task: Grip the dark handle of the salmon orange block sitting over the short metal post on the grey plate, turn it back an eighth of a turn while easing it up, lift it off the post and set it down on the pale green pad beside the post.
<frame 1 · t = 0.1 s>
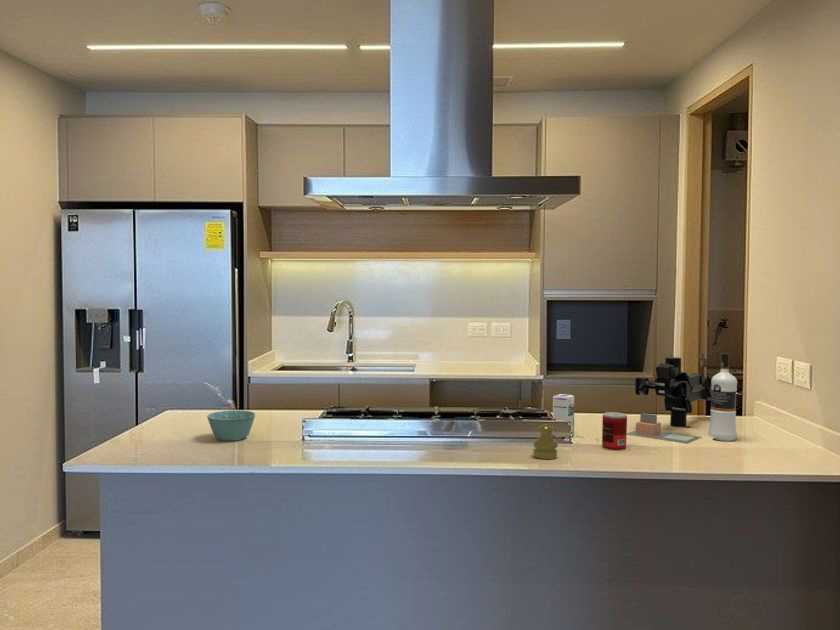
hand: (652, 390, 258), 17 cm above the worktop, tool horizontal, fingers open, 9 cm apart
vodka: (722, 439, 259), on the worktop
bowl: (231, 439, 249), on the worktop
salmon orange block: (648, 433, 262), point 1 cm above the worktop, touching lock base
canned food: (614, 448, 243), on the worktop
syrup box: (563, 436, 260), on the worktop
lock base: (663, 438, 258), on the worktop
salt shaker: (545, 457, 229), on the worktop
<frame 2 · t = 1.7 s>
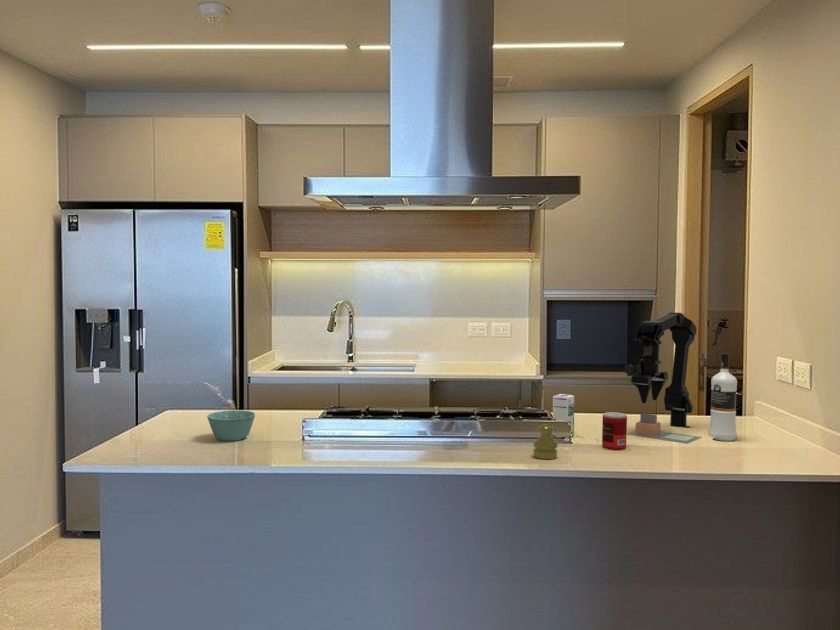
hand: (649, 401, 261), 12 cm above the worktop, tool pointing down, fingers open, 9 cm apart
nothing on the worktop moved.
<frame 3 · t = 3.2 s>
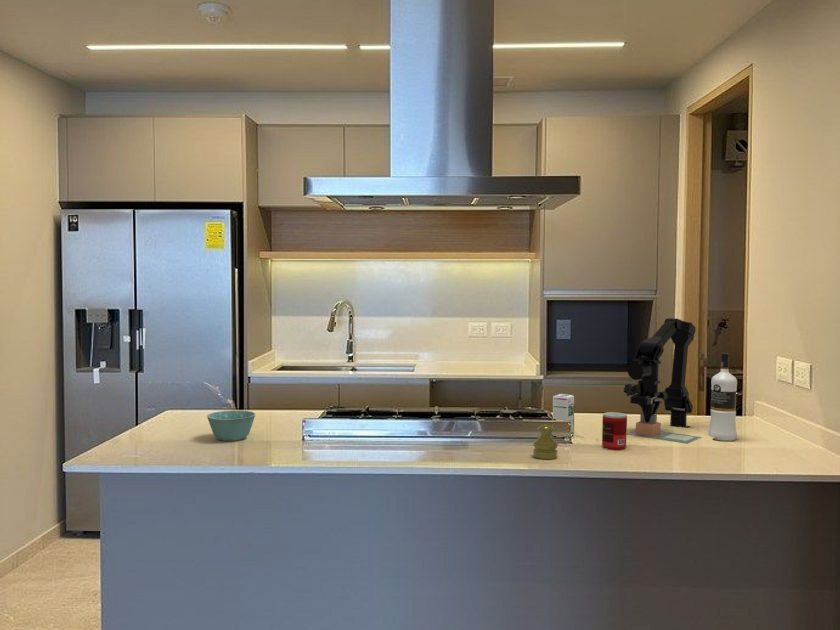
hand: (648, 421, 262), 5 cm above the worktop, tool pointing down, fingers closed on salmon orange block
salmon orange block: (648, 433, 262), point 1 cm above the worktop, touching gripper, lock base
everything else where it was.
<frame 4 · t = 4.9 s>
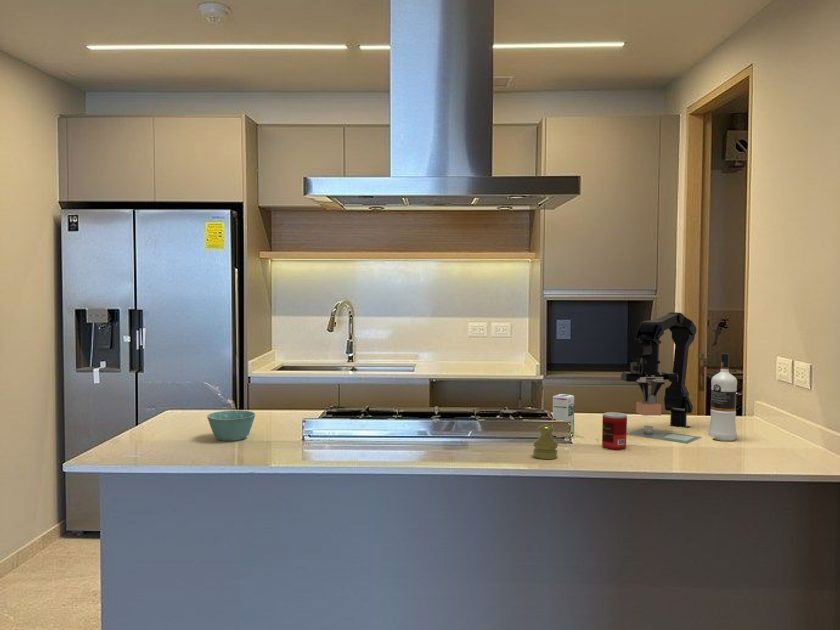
hand: (648, 401, 261), 12 cm above the worktop, tool pointing down, fingers closed on salmon orange block
salmon orange block: (648, 413, 261), point 8 cm above the worktop, touching gripper
everything else where it was.
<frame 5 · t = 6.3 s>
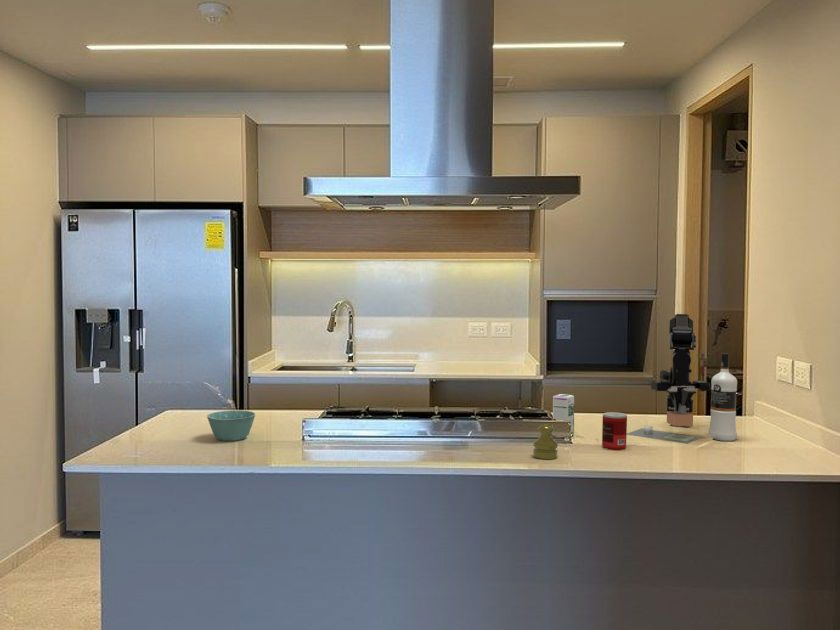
hand: (679, 410, 254), 10 cm above the worktop, tool pointing down, fingers closed on salmon orange block
salmon orange block: (679, 424, 255), point 6 cm above the worktop, touching gripper
everything else where it was.
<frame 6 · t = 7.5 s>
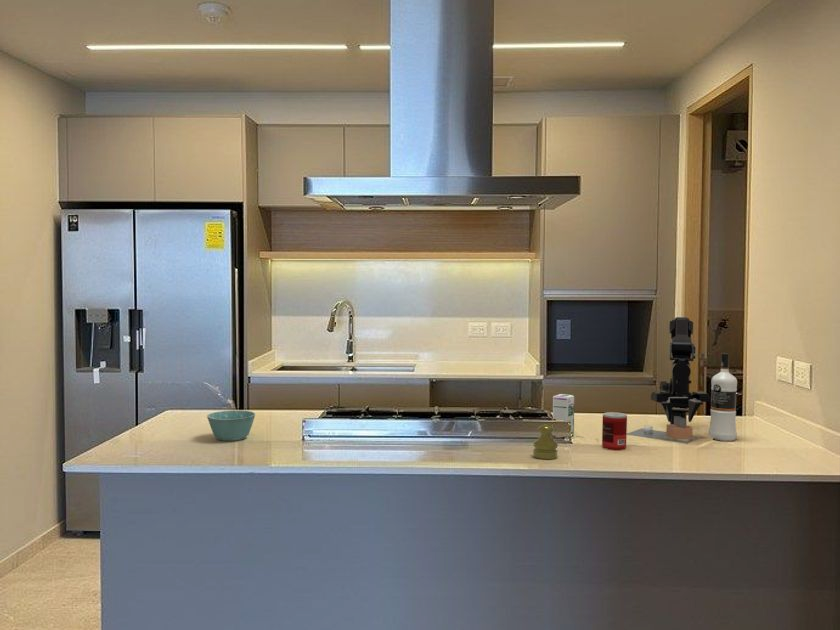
hand: (679, 421, 255), 7 cm above the worktop, tool pointing down, fingers open, 7 cm apart
salmon orange block: (679, 437, 255), point 1 cm above the worktop, touching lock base
everything else where it was.
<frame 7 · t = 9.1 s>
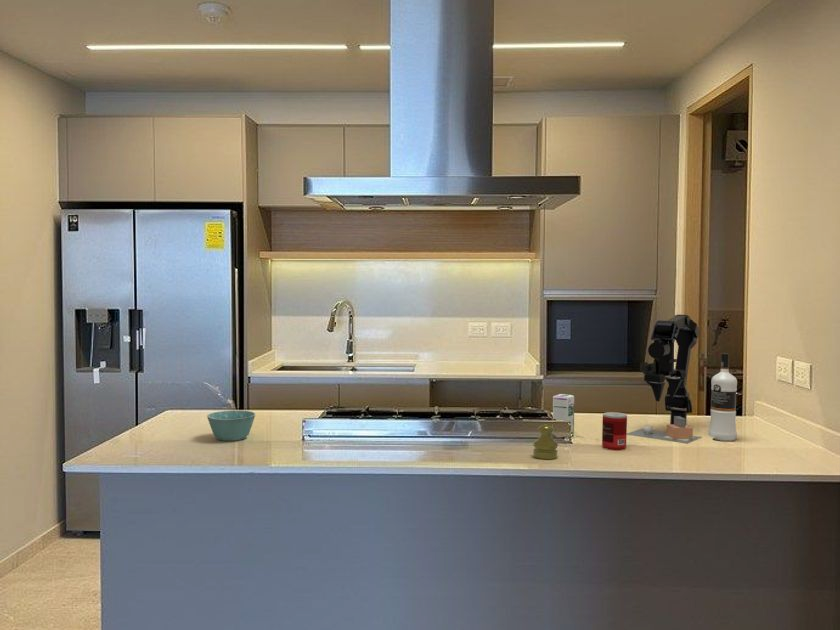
hand: (664, 399, 264), 13 cm above the worktop, tool pointing down, fingers open, 9 cm apart
nothing on the worktop moved.
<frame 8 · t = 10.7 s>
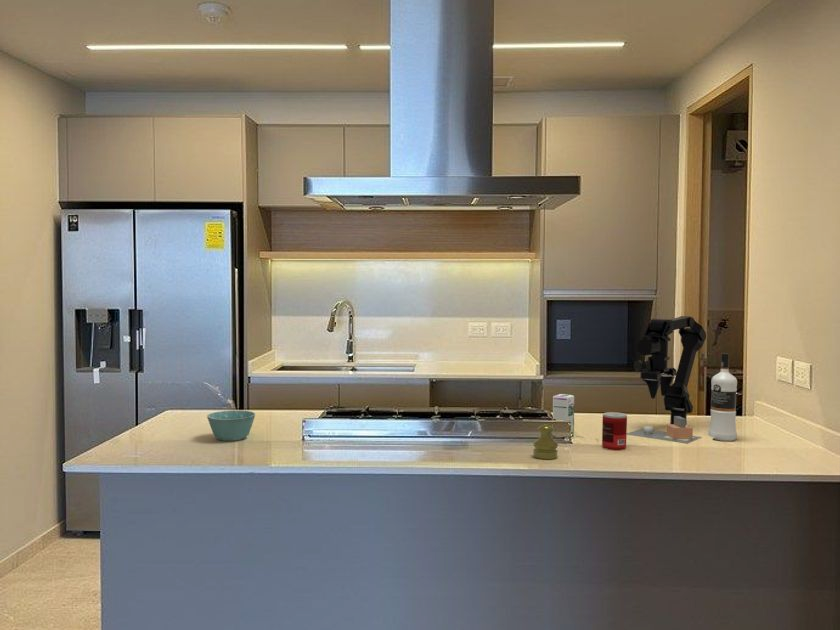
hand: (658, 397, 267), 13 cm above the worktop, tool pointing down, fingers open, 9 cm apart
nothing on the worktop moved.
at the end: salmon orange block inside the target area on the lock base (0.1 cm from its centre), point 1.3 cm above the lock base's base; salmon orange block tilted 0°; the gripper is holding nothing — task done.
